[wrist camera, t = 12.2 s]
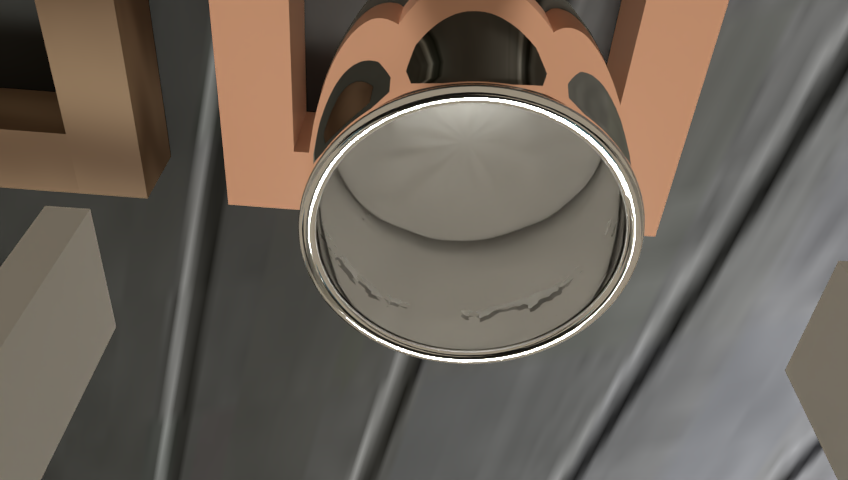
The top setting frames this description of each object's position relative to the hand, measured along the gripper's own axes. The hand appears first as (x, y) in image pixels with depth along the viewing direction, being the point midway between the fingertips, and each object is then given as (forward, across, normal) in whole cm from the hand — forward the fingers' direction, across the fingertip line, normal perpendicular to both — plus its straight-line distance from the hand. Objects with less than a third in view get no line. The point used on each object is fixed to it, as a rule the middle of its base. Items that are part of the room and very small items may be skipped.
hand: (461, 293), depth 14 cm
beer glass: (+16, 0, 0) cm, 16 cm away
